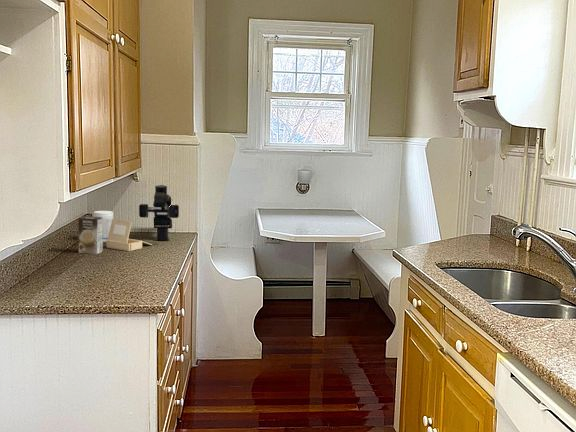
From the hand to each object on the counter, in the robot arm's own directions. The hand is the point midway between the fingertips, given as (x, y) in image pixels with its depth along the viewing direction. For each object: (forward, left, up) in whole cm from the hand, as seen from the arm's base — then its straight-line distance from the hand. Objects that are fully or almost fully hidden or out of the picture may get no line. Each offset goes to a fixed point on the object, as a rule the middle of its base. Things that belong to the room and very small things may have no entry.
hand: (157, 215), depth 282 cm
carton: (-7, -12, -16) cm, 22 cm away
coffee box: (+5, -30, -17) cm, 34 cm away
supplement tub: (-23, -27, -17) cm, 39 cm away
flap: (-2, -17, -8) cm, 19 cm away
